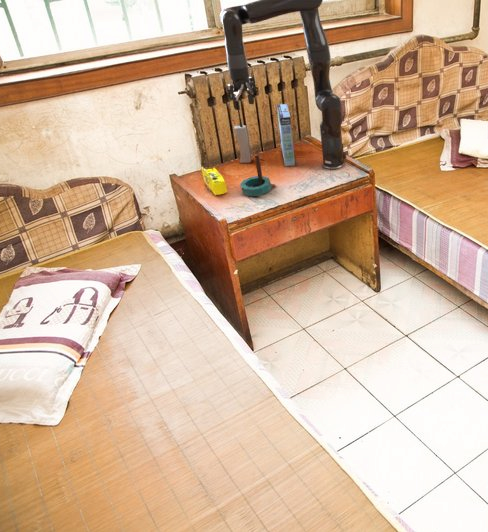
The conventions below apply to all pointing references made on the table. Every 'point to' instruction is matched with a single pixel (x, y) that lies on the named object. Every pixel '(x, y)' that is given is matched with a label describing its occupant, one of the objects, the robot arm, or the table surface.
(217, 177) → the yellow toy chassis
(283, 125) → the gum box
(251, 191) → the teal ring
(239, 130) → the vintage mobile phone
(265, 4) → the robot arm
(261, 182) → the brown peg stand
